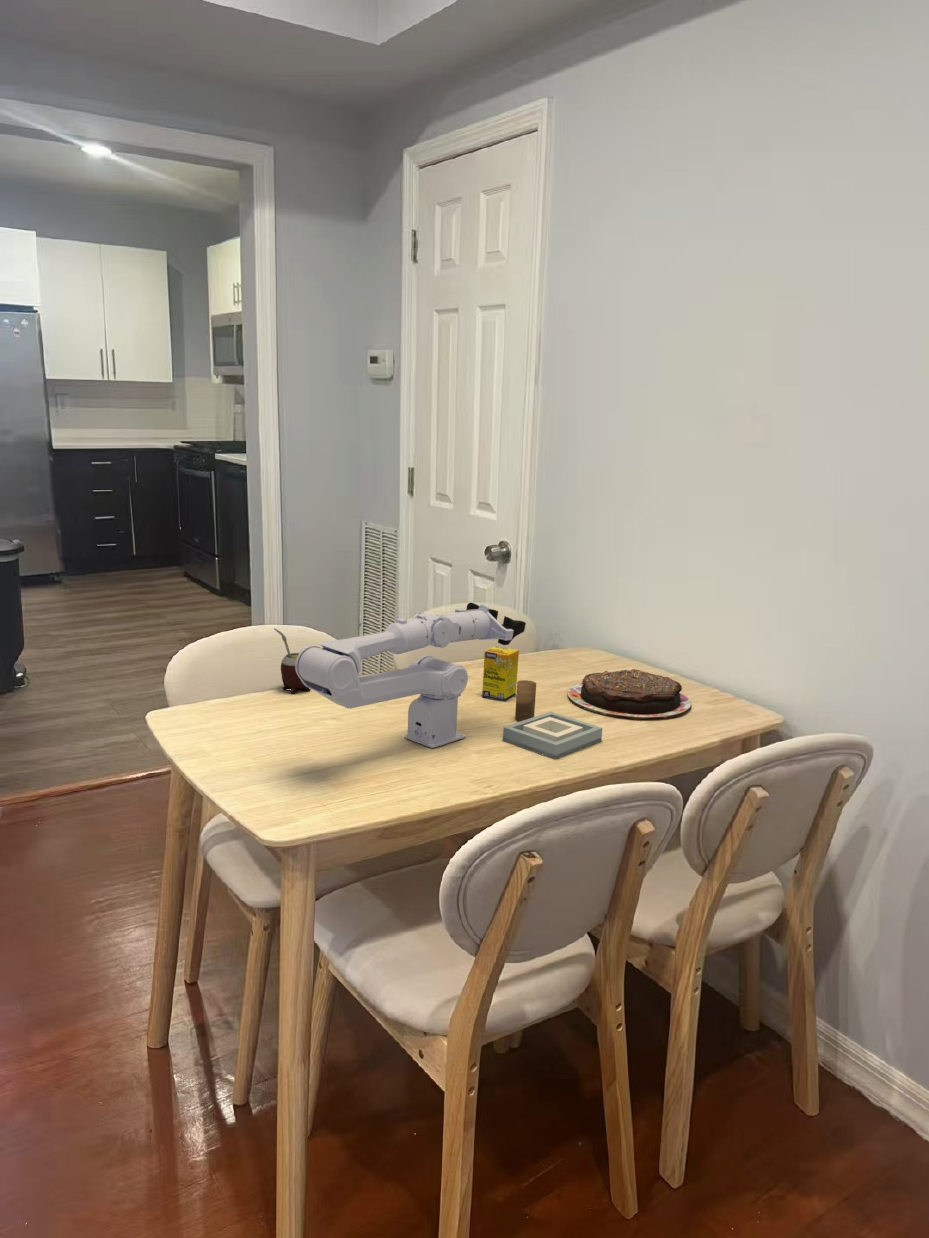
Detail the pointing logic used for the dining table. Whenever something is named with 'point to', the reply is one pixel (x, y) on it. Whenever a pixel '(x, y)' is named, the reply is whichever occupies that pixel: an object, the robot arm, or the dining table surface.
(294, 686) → the mate gourd
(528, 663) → the dining table surface
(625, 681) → the chocolate cake
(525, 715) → the walnut peg
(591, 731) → the tray
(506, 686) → the supplement box
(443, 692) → the robot arm
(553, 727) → the socket block
